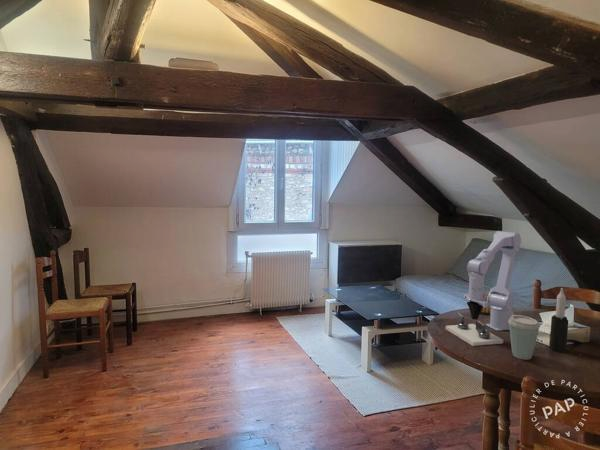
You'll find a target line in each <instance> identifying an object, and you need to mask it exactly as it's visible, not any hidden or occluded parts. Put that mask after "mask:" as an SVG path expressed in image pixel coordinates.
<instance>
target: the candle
mask: <svg viewBox="0 0 600 450" xmlns="http://www.w3.org/2000/svg"><path fill="white" fill-rule="evenodd" d="M566 301H567V296H566V295H565V292H564V288H563V287H561V288H560V291H559V293H558V294H557V296H556V306H555V314H554V315H552V316H551V323H550V334H549V335H550V336H549V349H550V350H551V351H552V352H559V353H563V354H564V353H566V352H567V347H568V346H567V344H568V343H567V342H568V332H569V320H568V317H567V316H565V315H566V304H567V303H566Z"/></svg>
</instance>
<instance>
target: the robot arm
mask: <svg viewBox="0 0 600 450" xmlns="http://www.w3.org/2000/svg"><path fill="white" fill-rule="evenodd" d="M521 243H522V237H521V235H520V233H519V232H511V231H510V232H509V231H500V230H497V231H496V232H495V233H494V234H493V238H492V242H491V243H490V245H489V246H488V248H484V249H482V250H481V252H480V253H478V255H477V256H476V257H475V258H474V259H471V260H469V261H468V263H467V264H466V265H467V266H466V270H467V275H468V277H469V280H468V293H463V299H465V300H467V302H466V305H467V307H468V309H469V312H470V317H471V319H472V320H473V321H477V320H478V319H479V316H480V315H481V314H480V312H481V310H482V308H483V307H490V308H491V315H489V316H490V319H489V323H485V326H487V327H489V328H490V329H493V330H494V331H497V332H498V331H510V328H509V323H508V321H509V319H510V316H512V315H515V312H514V311H513V309H512V308H513V306H514V296H515V295H514V293H513V292H512V291H511V289H510V284H511V283H510V282H511V278H512V273H513V268H514V264H515V258H516V256H517V255H516V254H517V253H518V252H519V251H520V247H521ZM499 250H500V251H502V258H501V262H500V268H499V272H498V276H497V279H496V280H497V281H496V285H495V286H494V287H491V288H490V290H489V291H488V293H489V294H488V296H487V301H486V300H484V299H483V291H484V289H485V287H484V285H485V274H487V272H488V269H489V266H490V264H491V263H492V262H493V260H494V259H495V257H496V256H495V254H496V253H498V252H499ZM498 293H500V294H498Z"/></svg>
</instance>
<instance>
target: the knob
mask: <svg viewBox="0 0 600 450" xmlns="http://www.w3.org/2000/svg"><path fill="white" fill-rule="evenodd" d="M455 321H456V323H457V325H458V328H461V329H468V324H469V323H467V322H465V316H464V315H462V314H461V313H460V312H456V313H455Z"/></svg>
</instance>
